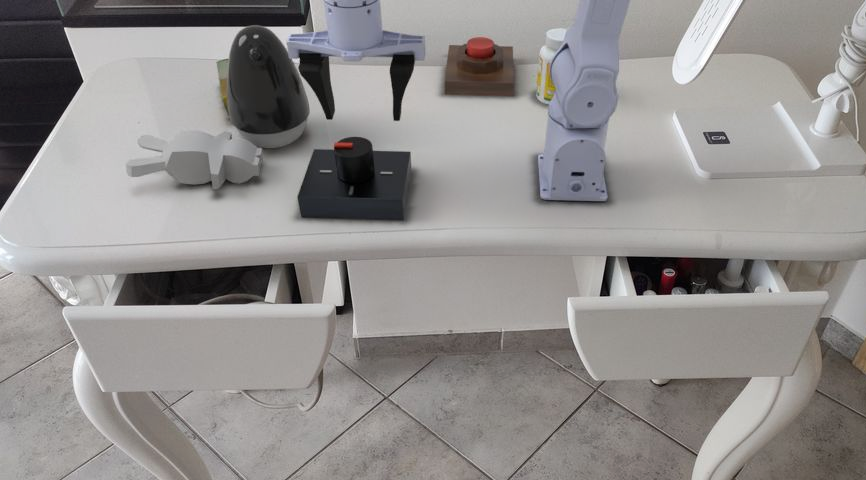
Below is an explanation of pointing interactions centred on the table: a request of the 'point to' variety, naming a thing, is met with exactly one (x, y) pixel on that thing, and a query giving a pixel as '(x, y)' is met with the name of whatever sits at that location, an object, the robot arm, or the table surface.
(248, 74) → the black glossy egg shape
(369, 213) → the dial panel
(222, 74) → the medication box
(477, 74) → the button box
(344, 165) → the dial
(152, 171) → the bunny figurine
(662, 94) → the table surface
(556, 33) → the supplement bottle
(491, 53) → the button
